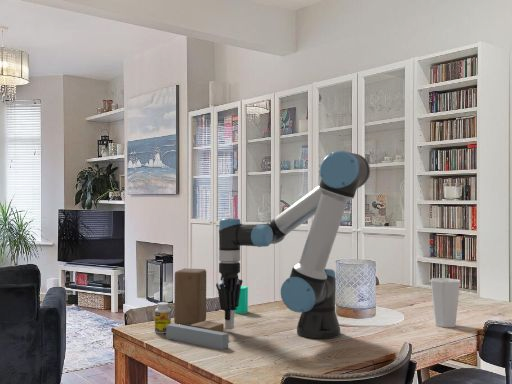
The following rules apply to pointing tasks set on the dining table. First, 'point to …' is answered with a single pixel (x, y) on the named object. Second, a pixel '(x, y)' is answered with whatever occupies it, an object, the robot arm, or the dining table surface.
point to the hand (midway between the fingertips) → (229, 328)
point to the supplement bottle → (162, 317)
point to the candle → (243, 301)
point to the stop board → (197, 336)
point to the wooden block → (190, 296)
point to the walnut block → (209, 326)
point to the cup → (445, 300)
